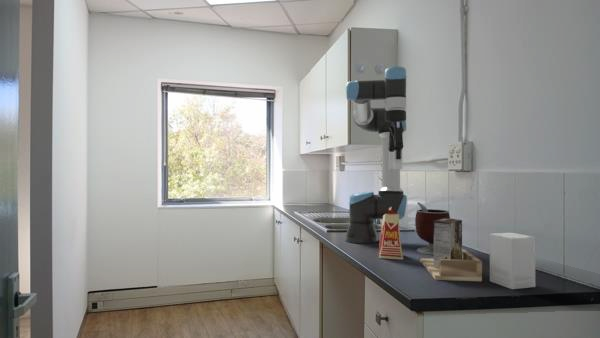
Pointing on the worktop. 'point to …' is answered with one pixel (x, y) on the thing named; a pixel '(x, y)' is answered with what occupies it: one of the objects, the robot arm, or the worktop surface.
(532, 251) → the supplement box
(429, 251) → the mate gourd
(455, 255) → the coffee box
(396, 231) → the milk carton
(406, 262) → the worktop surface
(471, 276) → the beige wooden tray
